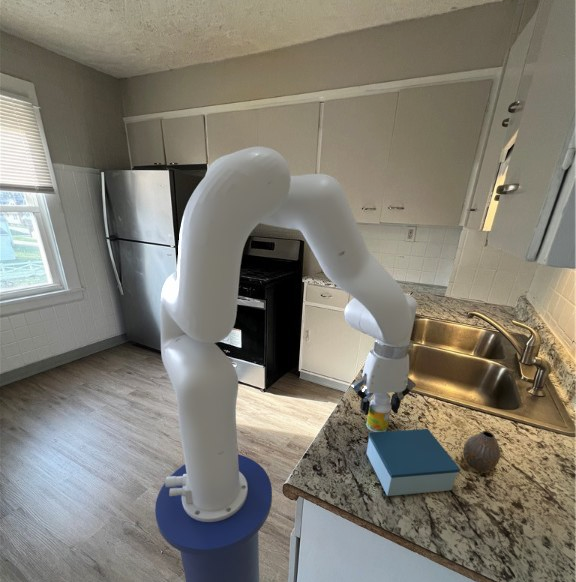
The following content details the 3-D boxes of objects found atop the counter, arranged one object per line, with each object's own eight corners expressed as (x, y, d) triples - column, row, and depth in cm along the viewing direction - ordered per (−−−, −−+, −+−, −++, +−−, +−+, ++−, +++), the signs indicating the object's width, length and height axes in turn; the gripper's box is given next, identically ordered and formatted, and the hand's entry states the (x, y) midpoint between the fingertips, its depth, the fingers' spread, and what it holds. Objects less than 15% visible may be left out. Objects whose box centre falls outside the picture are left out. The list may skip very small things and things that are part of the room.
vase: (474, 450, 75) (484, 421, 71) (501, 471, 69) (514, 440, 66) (453, 458, 73) (463, 428, 69) (479, 480, 67) (492, 448, 63)
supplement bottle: (361, 425, 83) (366, 394, 78) (374, 417, 86) (379, 387, 82) (378, 436, 79) (385, 404, 75) (391, 427, 82) (397, 396, 78)
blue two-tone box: (386, 497, 62) (391, 475, 60) (365, 452, 74) (368, 432, 71) (453, 490, 64) (460, 469, 62) (422, 448, 75) (427, 428, 73)
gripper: (417, 340, 77) (404, 401, 85) (349, 342, 75) (341, 404, 82) (434, 354, 70) (418, 418, 78) (359, 356, 68) (350, 422, 76)
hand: (379, 410), depth 80 cm, fingers open, 7 cm apart
